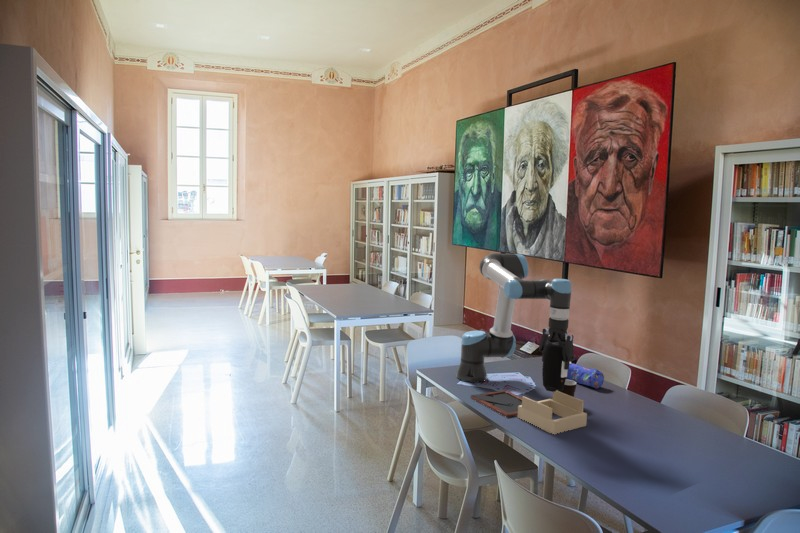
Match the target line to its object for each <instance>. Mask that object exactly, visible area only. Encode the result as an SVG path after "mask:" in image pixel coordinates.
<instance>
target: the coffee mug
mask: <svg viewBox="0 0 800 533" xmlns="http://www.w3.org/2000/svg"><path fill="white" fill-rule="evenodd" d="M577 384H578V383H576V382H575V381H572V380H568V379H566V380H565V384H564V388H563V391H561V390H557V391H559V392H562V393H564V394H567V395H570V396H572V397H575V394H576V390H577V389H576V388H577Z"/></svg>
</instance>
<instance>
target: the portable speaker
mask: <svg viewBox="0 0 800 533" xmlns="http://www.w3.org/2000/svg"><path fill="white" fill-rule="evenodd" d="M562 342H563V341H562ZM562 345H566V344H558V342H557V341H554V342H549V341H548V340H547V344H546V348H545V351H544V356H543V362H542V369H541V370H542V371H541V372H542V386H543V387H544V389H545V390H546V391H548V392H552V393H553V392H555V391H556V390H561V391H563V388H564V384H565V380H566V377H563V378H562V377H561V369H562V361H563V360H564V358H563V355H562Z"/></svg>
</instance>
